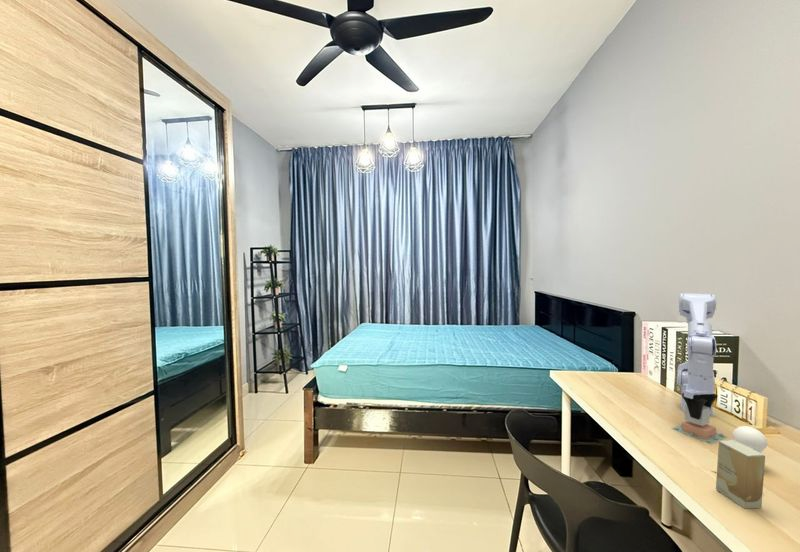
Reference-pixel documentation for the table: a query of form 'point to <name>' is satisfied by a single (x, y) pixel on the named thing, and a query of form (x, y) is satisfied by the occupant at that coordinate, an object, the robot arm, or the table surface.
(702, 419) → the grey brick
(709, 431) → the base brick
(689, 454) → the table surface
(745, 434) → the lightbulb
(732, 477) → the skincare box
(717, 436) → the build plate
